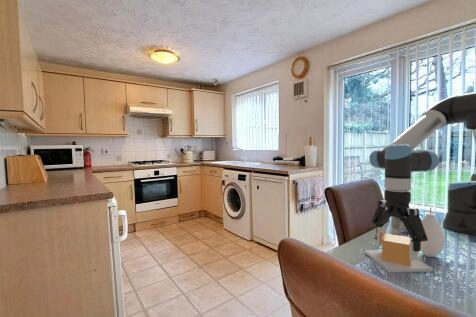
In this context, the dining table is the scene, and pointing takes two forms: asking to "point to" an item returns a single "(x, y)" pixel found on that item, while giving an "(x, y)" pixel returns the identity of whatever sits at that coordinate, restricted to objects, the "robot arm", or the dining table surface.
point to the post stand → (395, 226)
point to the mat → (394, 267)
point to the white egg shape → (432, 236)
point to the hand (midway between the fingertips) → (396, 251)
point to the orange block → (396, 249)
